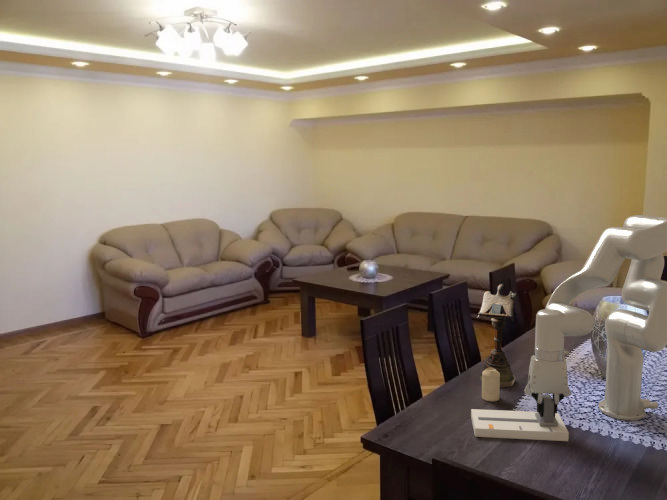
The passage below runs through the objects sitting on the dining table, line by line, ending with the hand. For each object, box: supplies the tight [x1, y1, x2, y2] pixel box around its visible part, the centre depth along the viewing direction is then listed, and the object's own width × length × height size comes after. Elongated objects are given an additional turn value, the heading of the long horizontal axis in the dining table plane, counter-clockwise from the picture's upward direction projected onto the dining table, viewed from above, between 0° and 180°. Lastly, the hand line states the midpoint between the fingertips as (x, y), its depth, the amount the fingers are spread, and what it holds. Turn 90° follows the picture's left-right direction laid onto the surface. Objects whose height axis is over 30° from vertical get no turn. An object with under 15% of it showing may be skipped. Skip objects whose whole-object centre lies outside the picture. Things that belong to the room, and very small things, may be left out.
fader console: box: [470, 408, 570, 442], centre depth 157 cm, size 25×12×3 cm, turn 81°
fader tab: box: [535, 394, 558, 426], centre depth 155 cm, size 5×6×7 cm
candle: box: [481, 367, 501, 402], centre depth 176 cm, size 6×6×10 cm
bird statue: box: [476, 283, 517, 388], centre depth 186 cm, size 17×13×35 cm
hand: (546, 414), depth 155 cm, fingers closed on fader tab, 2 cm apart
